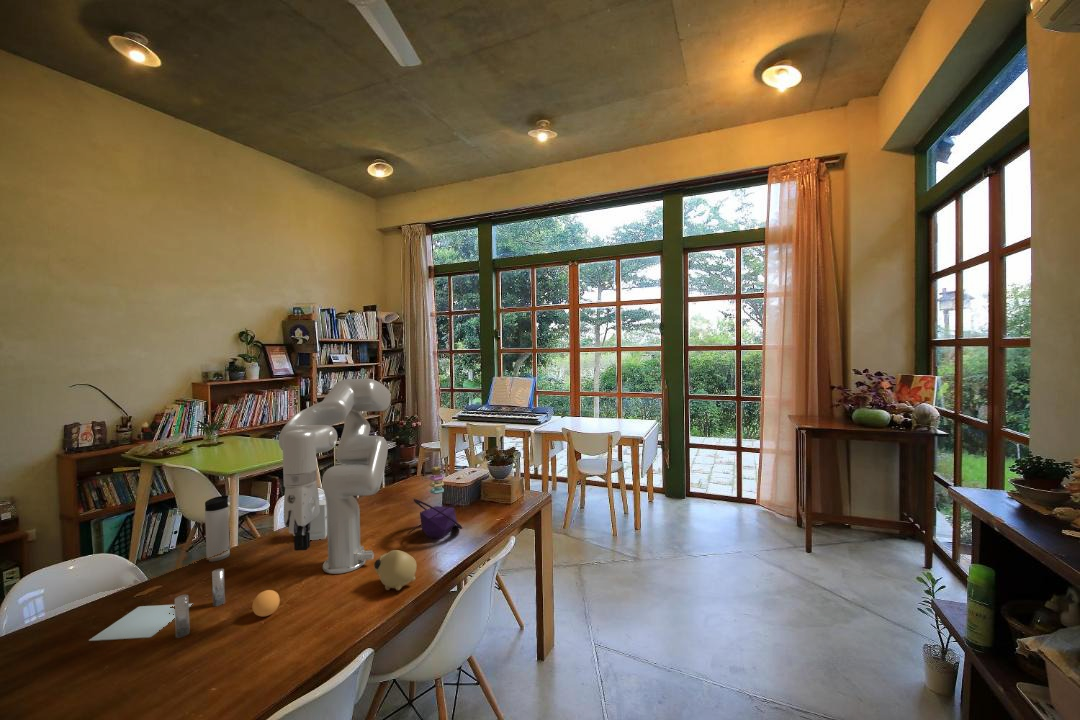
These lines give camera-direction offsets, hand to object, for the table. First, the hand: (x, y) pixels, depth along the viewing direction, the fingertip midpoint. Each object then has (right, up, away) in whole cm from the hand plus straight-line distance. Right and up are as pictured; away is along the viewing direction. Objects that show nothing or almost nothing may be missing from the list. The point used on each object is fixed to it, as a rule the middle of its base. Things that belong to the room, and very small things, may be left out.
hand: (302, 548), depth 114 cm
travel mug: (-46, -18, +34) cm, 60 cm away
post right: (-25, -17, +5) cm, 31 cm away
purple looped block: (+24, -16, +48) cm, 56 cm away
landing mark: (-39, -18, -2) cm, 43 cm away
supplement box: (-21, -17, +49) cm, 56 cm away
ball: (-9, -14, 0) cm, 17 cm away
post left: (-25, -17, -8) cm, 31 cm away
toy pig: (+20, -16, +13) cm, 29 cm away
